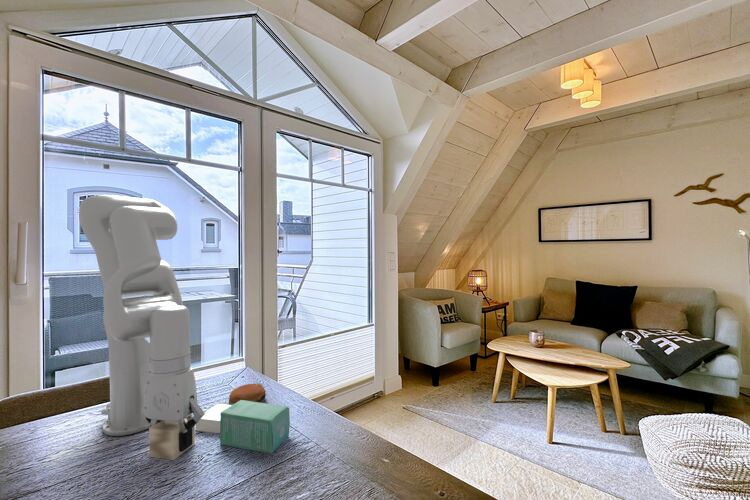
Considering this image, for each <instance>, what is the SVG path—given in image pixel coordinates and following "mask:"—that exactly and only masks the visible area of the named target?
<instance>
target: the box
mask: <svg viewBox="0 0 750 500" xmlns="http://www.w3.org/2000/svg"><path fill="white" fill-rule="evenodd" d="M290 419H291V417H290V407H289V406H287V405H280V404H279V405H278V404H271V403H265V402H262V403H259V402H252V401H246V400H240V401H238V402H237V403H235V404H233V405H232V406H230V407H228V408H227V409H225V410H223V411H222V412H221V413H220V433H219V435H220V437H219V444H220V445H223V446H228V447H234V448H238V449H244V450H249V451H255V452H256V451H257V452H259V453H266V454H271V455H272V454H273V453H274V452H275V451H276V450H277V449H278V448H279V447H280V446H281V445H282V444H283V443H284V442H285V440H287V438H288V437H289V435H290V424H291V423H290V421H291V420H290Z"/></svg>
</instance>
